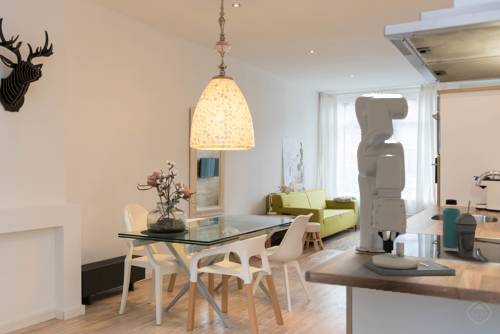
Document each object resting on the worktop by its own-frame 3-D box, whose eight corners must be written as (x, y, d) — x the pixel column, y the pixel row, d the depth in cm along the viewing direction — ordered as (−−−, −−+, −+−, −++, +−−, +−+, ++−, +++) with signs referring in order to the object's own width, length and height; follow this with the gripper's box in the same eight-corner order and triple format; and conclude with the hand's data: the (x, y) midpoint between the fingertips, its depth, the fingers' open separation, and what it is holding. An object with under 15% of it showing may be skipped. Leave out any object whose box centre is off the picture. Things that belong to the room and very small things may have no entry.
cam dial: (410, 270, 130) (410, 249, 130) (366, 264, 137) (366, 244, 137) (423, 263, 140) (423, 244, 140) (381, 259, 148) (381, 240, 148)
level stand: (363, 265, 145) (363, 260, 145) (429, 264, 148) (429, 259, 148) (382, 275, 130) (382, 269, 130) (455, 274, 133) (455, 268, 133)
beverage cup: (453, 254, 170) (454, 200, 170) (475, 255, 168) (475, 200, 168) (455, 257, 163) (455, 200, 164) (478, 258, 161) (478, 201, 161)
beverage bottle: (462, 253, 173) (463, 199, 173) (444, 252, 174) (444, 199, 174) (458, 250, 179) (458, 199, 179) (440, 249, 180) (440, 198, 181)
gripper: (366, 194, 141) (366, 254, 141) (416, 195, 140) (415, 255, 140) (362, 193, 148) (361, 250, 148) (409, 194, 147) (409, 251, 147)
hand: (388, 252), depth 144 cm, fingers closed
